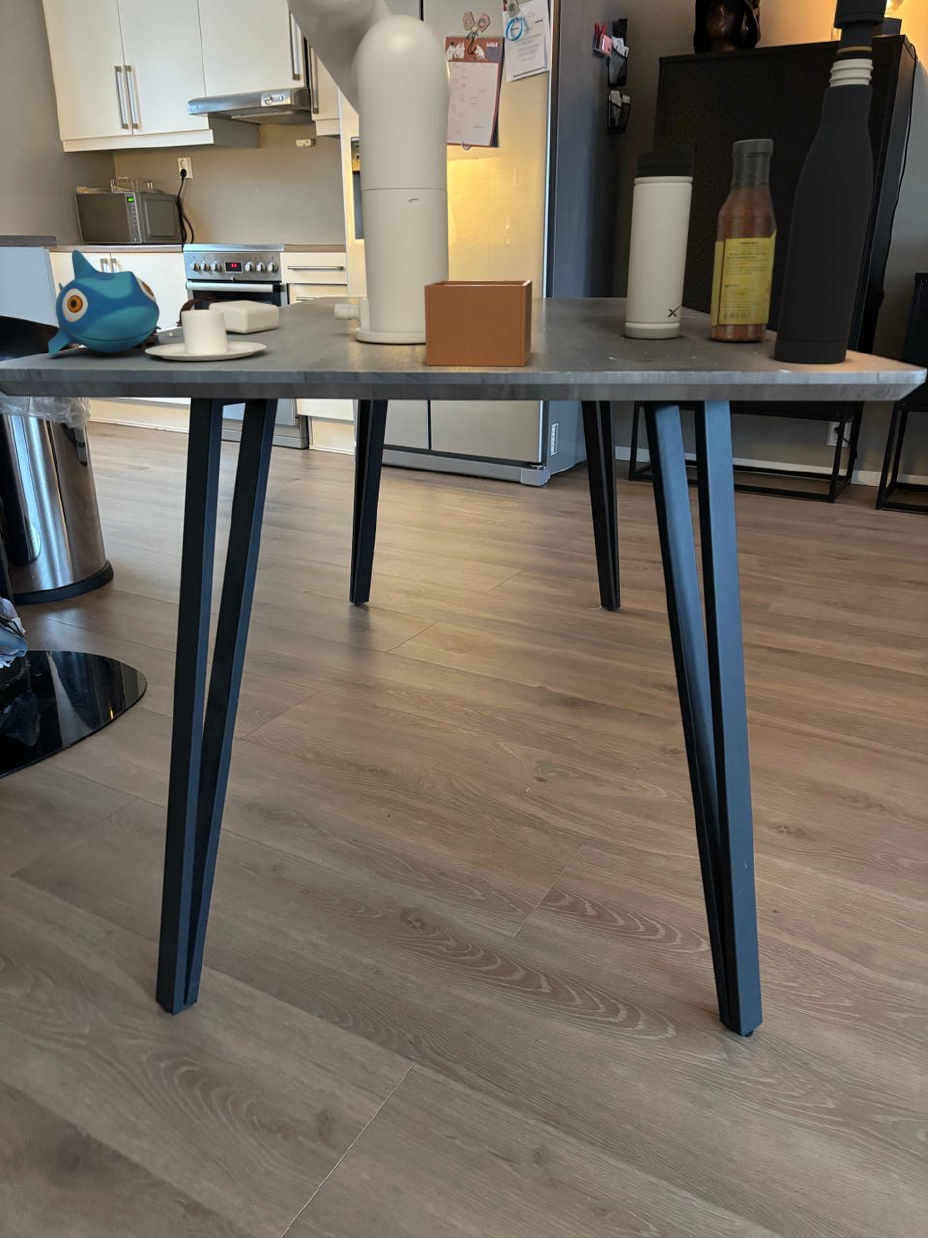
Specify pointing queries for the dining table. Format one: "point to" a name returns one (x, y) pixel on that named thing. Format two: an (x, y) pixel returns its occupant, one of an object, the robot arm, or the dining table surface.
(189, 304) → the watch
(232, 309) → the soap
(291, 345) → the dining table surface
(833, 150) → the black water bottle
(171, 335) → the witch figurine
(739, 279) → the sauce bottle
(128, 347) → the toy
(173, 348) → the candle holder
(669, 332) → the travel mug
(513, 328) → the box
